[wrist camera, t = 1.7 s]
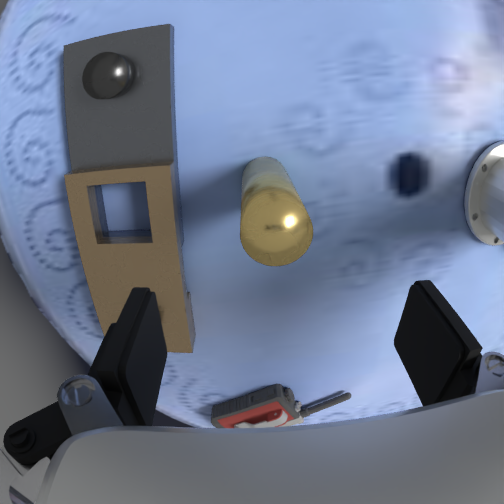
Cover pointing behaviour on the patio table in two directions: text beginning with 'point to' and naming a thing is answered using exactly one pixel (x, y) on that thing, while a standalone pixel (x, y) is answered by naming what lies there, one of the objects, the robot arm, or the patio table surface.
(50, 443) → the robot arm
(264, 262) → the pin
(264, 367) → the patio table surface
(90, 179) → the peg insertion board
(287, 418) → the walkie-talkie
